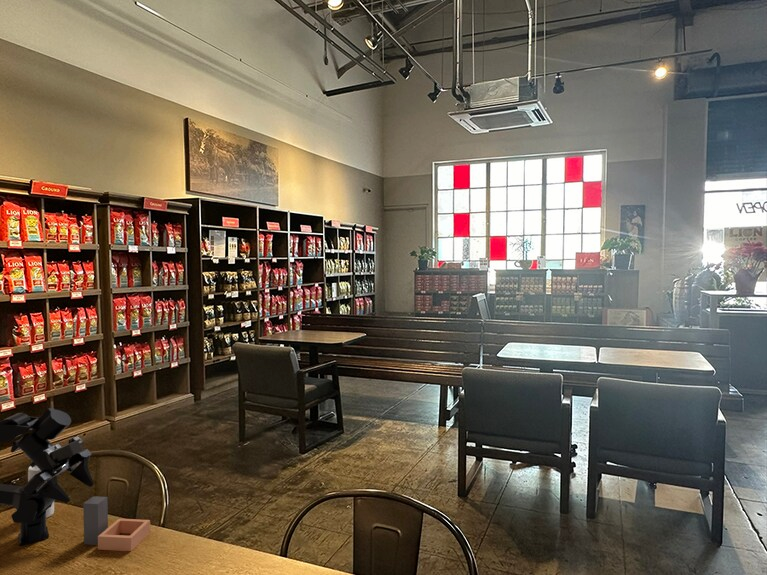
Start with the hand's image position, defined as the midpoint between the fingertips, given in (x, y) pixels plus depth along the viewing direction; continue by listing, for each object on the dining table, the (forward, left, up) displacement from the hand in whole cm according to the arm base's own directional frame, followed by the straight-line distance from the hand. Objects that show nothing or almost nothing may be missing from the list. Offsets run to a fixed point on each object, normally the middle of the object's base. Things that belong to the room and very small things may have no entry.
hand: (81, 493), depth 131 cm
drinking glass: (-21, -7, -13) cm, 26 cm away
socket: (+8, +9, -13) cm, 17 cm away
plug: (+3, +3, -13) cm, 13 cm away
